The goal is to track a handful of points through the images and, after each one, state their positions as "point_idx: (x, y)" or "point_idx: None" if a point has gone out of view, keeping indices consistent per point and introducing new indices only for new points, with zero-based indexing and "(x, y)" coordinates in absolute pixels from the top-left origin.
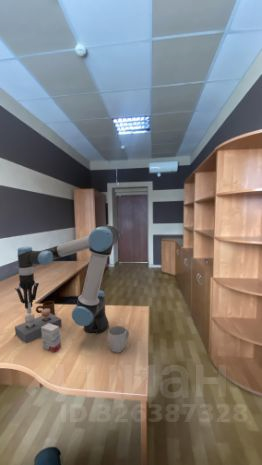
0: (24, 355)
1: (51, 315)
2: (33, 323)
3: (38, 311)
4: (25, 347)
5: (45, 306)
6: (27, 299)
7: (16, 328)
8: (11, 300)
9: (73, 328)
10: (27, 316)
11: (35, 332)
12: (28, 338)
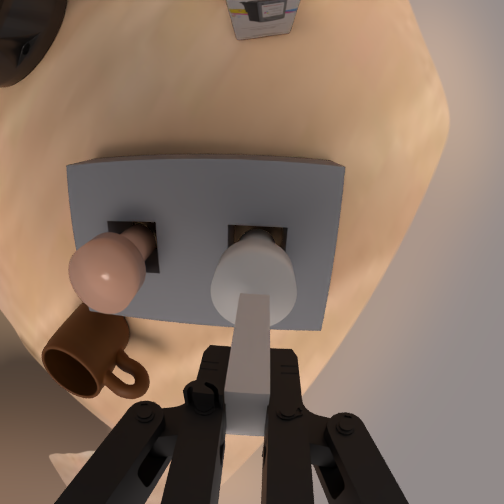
0: (386, 65)
1: None
2: None
3: (138, 370)
4: (351, 124)
5: (90, 362)
6: (275, 456)
7: (324, 306)
8: None
9: (69, 89)
10: None
11: (265, 159)
12: (316, 161)
